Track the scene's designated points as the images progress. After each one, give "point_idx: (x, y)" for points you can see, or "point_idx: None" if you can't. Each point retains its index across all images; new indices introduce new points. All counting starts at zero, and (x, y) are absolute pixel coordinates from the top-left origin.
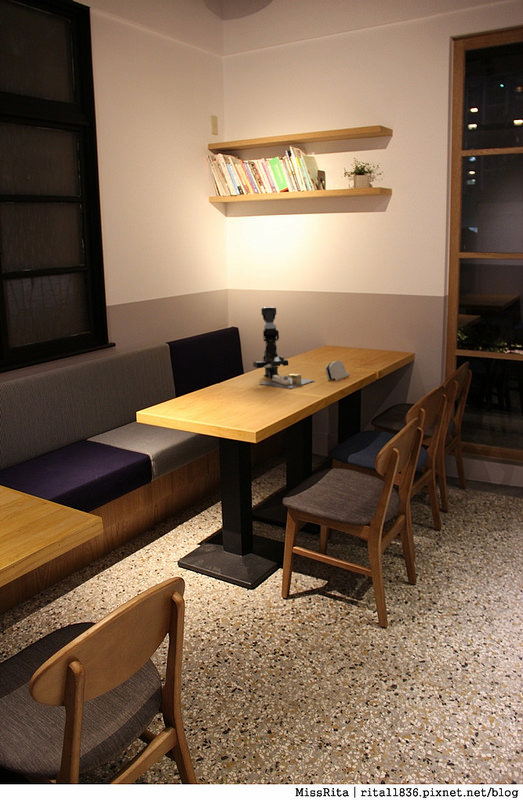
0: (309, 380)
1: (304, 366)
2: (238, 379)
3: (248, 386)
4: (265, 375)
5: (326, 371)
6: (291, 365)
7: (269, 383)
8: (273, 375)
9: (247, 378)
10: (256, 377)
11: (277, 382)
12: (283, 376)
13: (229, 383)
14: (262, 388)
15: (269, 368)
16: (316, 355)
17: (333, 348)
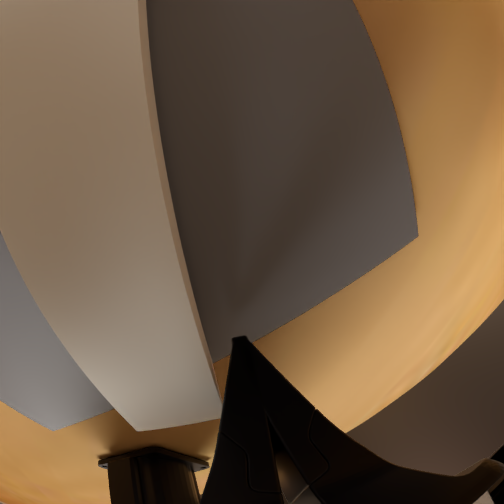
0: None
1: (7, 479)
2: (376, 407)
3: (489, 201)
4: (199, 464)
5: None
6: (58, 497)
7: (336, 162)
8: (188, 415)
9: None
10: None
11: None
12: (55, 429)
13: (465, 330)
14: (466, 24)
15: (453, 490)
16: (16, 500)
17: (2, 500)
